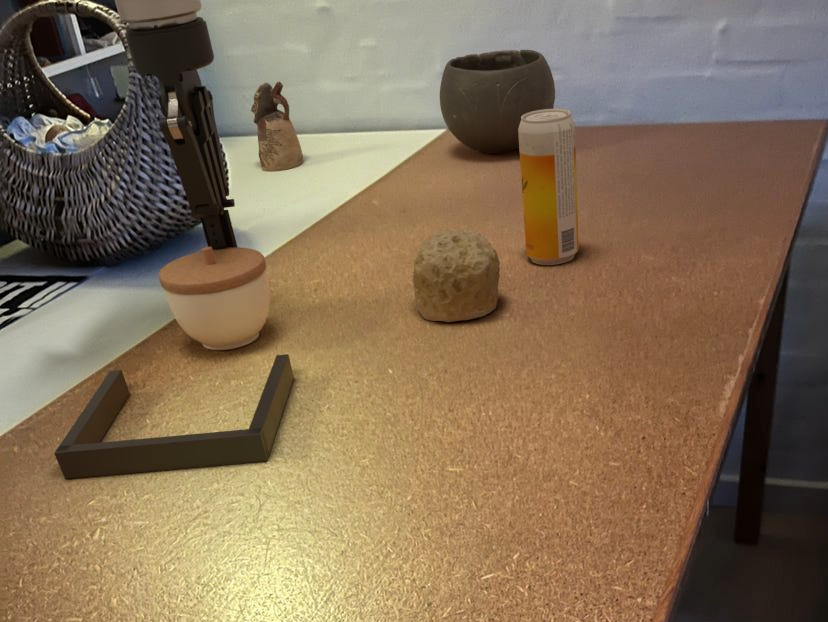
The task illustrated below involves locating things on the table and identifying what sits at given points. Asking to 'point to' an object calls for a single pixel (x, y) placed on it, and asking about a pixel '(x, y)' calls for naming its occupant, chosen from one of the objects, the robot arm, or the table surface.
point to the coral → (456, 276)
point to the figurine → (275, 130)
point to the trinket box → (218, 295)
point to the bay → (172, 452)
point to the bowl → (494, 96)
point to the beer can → (549, 185)
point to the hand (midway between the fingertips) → (230, 275)
